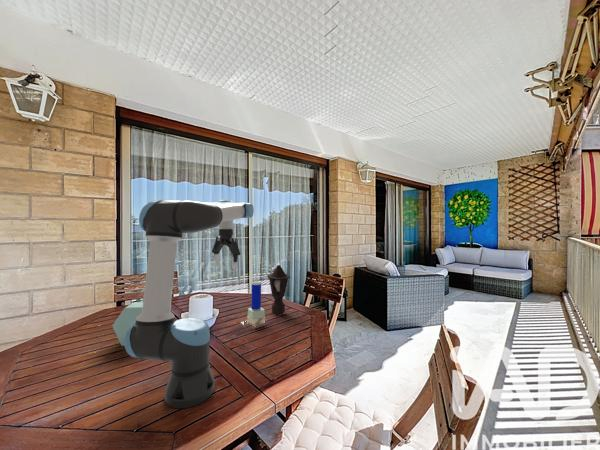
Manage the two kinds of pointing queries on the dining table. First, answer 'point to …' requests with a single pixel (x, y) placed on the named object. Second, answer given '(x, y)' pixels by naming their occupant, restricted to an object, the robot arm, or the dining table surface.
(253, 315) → the block top
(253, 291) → the beverage can
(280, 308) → the lantern
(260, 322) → the block bottom
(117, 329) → the mint green hexagonal block
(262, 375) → the dining table surface
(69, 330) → the dining table surface
